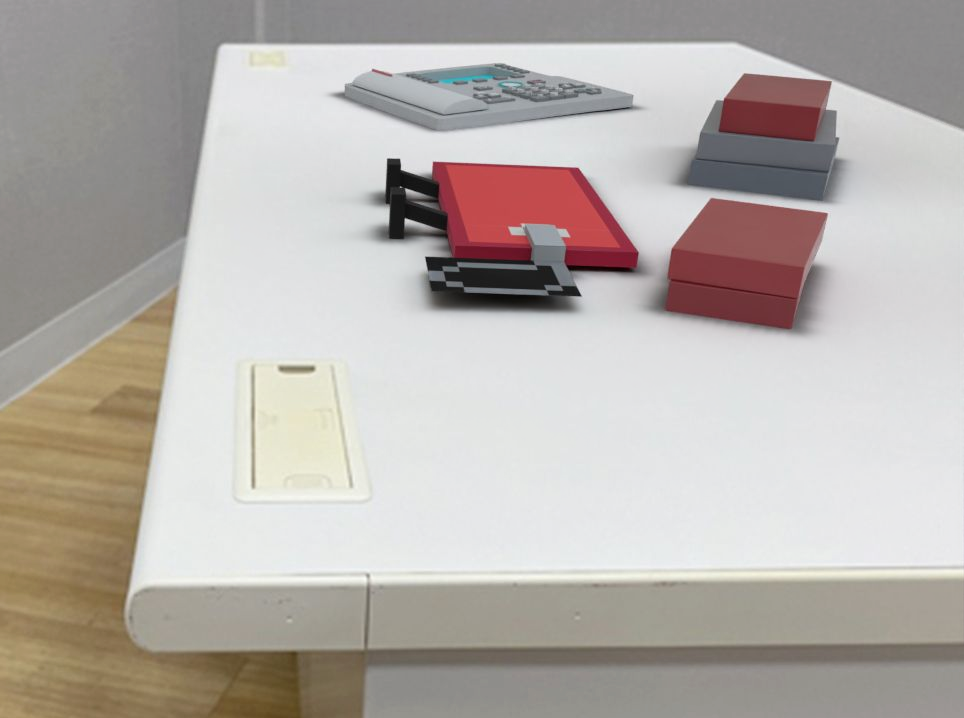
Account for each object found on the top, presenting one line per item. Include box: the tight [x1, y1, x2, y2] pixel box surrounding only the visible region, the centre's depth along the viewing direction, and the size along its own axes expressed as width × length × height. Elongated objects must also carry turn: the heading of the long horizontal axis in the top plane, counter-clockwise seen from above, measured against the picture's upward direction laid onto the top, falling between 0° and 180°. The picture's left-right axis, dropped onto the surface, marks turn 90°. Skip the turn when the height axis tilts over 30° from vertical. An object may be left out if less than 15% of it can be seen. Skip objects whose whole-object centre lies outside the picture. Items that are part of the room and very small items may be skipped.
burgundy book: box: [718, 72, 833, 141], centre depth 94 cm, size 12×7×2 cm, turn 159°
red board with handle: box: [384, 157, 640, 298], centre depth 80 cm, size 30×3×15 cm
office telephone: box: [344, 62, 634, 131], centre depth 118 cm, size 23×3×20 cm
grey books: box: [687, 99, 840, 202], centre depth 96 cm, size 14×10×4 cm
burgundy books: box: [664, 197, 829, 330], centre depth 71 cm, size 12×8×4 cm, turn 159°
